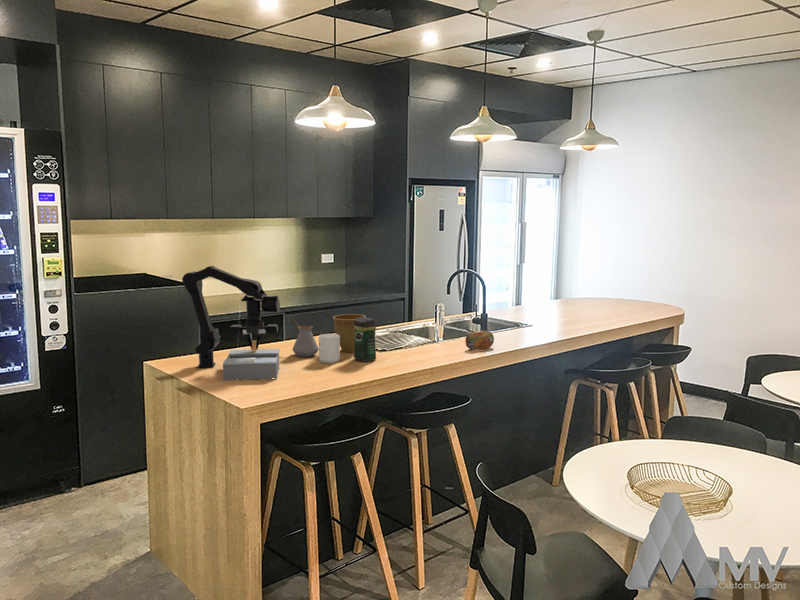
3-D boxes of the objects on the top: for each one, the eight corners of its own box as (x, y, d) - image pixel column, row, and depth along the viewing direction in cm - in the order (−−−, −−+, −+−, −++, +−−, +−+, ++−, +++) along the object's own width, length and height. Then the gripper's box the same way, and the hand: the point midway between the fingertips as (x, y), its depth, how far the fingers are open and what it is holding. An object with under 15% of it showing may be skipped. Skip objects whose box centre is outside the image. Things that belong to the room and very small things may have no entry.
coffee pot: (323, 356, 288) (322, 322, 286) (299, 359, 281) (299, 325, 279) (301, 347, 305) (301, 315, 303) (279, 350, 299) (278, 318, 296)
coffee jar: (379, 360, 281) (379, 318, 278) (365, 363, 276) (365, 320, 273) (364, 356, 288) (365, 315, 285) (350, 359, 283) (350, 317, 280)
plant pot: (355, 345, 309) (355, 312, 307) (371, 352, 297) (371, 317, 294) (327, 349, 301) (327, 315, 299) (342, 355, 289) (342, 320, 286)
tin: (467, 351, 301) (468, 333, 300) (464, 349, 304) (464, 332, 303) (494, 347, 308) (494, 330, 307) (490, 346, 311) (490, 329, 310)
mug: (343, 362, 277) (343, 336, 275) (323, 364, 273) (323, 338, 271) (332, 356, 287) (331, 331, 286) (313, 358, 283) (313, 333, 281)
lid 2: (226, 359, 253) (225, 355, 253) (277, 358, 256) (277, 354, 256) (223, 364, 246) (223, 360, 246) (276, 363, 248) (276, 359, 248)
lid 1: (231, 351, 269) (230, 340, 268) (279, 350, 271) (279, 339, 270) (228, 355, 261) (228, 344, 260) (278, 354, 263) (278, 343, 263)
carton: (228, 369, 262) (228, 355, 261) (279, 368, 265) (278, 354, 264) (223, 380, 247) (222, 365, 246) (276, 379, 249) (276, 364, 248)
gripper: (227, 315, 255) (228, 354, 257) (275, 315, 257) (276, 353, 259) (231, 311, 266) (232, 348, 268) (277, 310, 268) (278, 347, 270)
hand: (254, 349), depth 266 cm, fingers closed on lid 1, 2 cm apart
